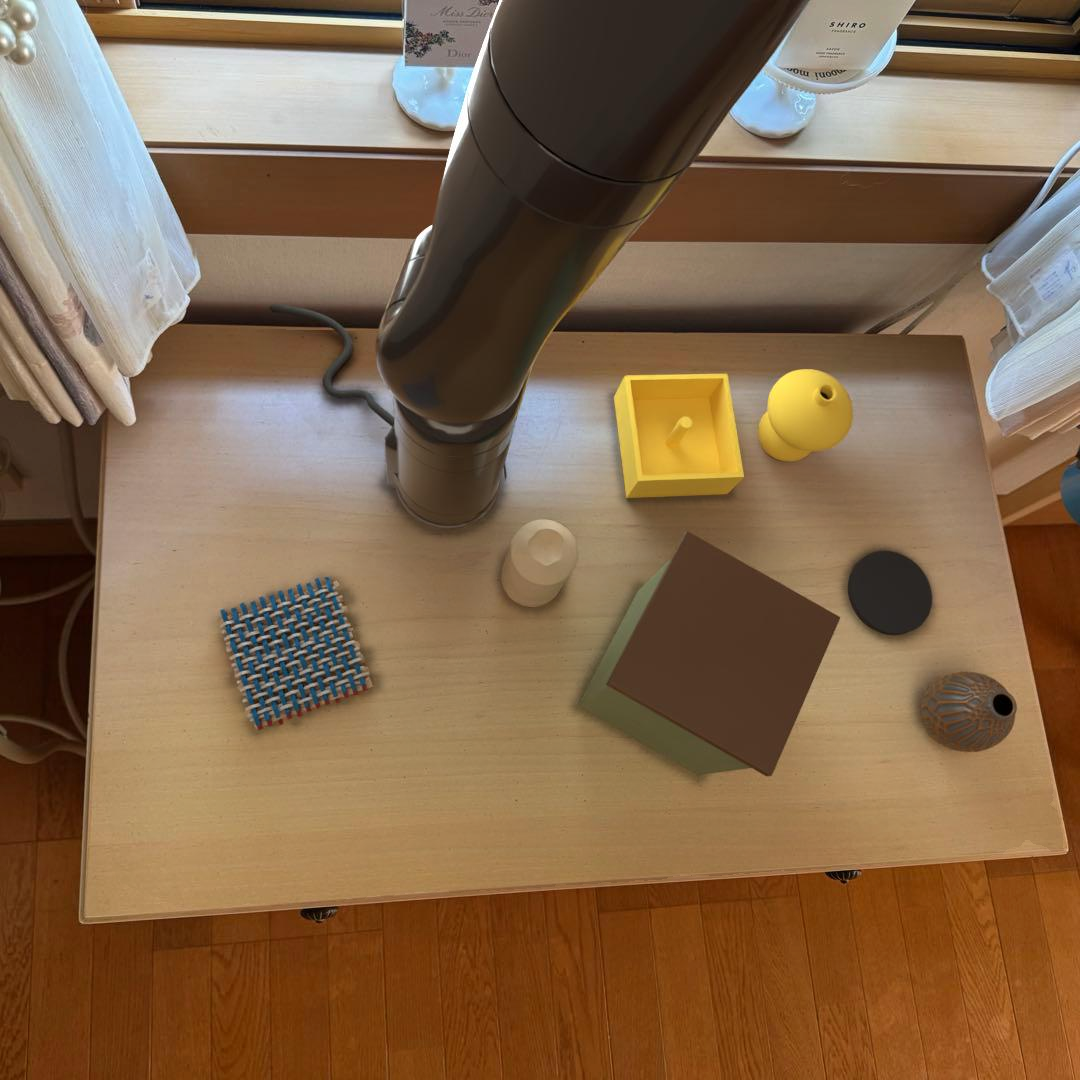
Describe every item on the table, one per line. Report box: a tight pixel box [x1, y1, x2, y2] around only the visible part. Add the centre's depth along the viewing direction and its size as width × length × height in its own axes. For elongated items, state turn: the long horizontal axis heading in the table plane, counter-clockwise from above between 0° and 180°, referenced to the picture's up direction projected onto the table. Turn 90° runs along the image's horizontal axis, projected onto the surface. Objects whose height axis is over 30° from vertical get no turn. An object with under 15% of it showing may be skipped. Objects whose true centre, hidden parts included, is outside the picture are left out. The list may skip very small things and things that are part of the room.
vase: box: [920, 671, 1018, 753], centre depth 78 cm, size 7×7×9 cm
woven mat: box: [217, 575, 374, 731], centre depth 75 cm, size 10×11×2 cm
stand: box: [577, 530, 841, 777], centre depth 72 cm, size 13×13×16 cm
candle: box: [500, 518, 579, 608], centre depth 76 cm, size 6×6×10 cm
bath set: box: [613, 368, 854, 499], centre depth 82 cm, size 20×10×11 cm, turn 95°
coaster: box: [847, 550, 933, 636], centre depth 84 cm, size 8×8×1 cm
